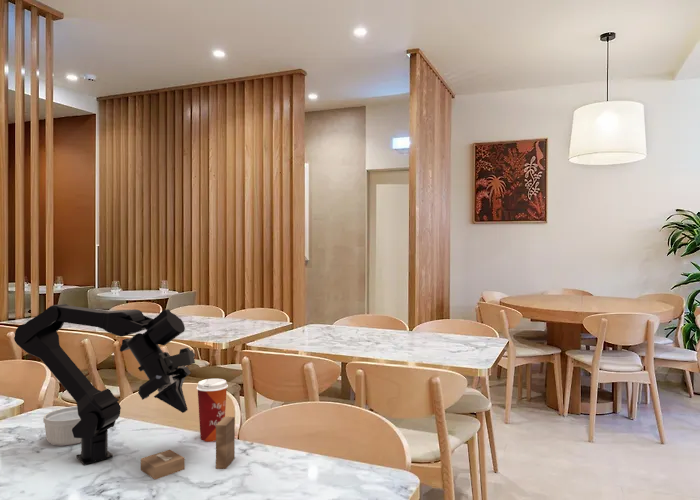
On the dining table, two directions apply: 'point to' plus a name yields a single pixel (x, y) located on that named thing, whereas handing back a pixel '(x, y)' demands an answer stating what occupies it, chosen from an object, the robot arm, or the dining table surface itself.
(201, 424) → the coffee cup
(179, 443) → the dining table surface
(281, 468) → the dining table surface
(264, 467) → the dining table surface
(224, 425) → the wooden block
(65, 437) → the ramekin
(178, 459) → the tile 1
